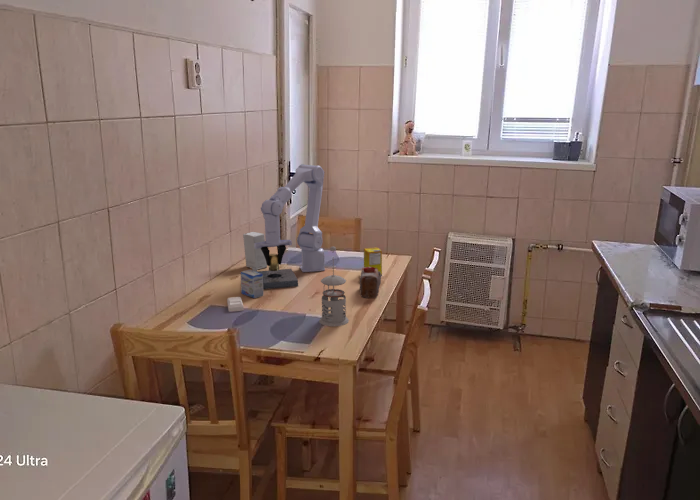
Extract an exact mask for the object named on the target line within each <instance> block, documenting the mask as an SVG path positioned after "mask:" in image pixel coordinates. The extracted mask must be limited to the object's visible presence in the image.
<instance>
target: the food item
mask: <svg viewBox="0 0 700 500" xmlns="http://www.w3.org/2000/svg"><path fill="white" fill-rule="evenodd" d="M381 283H382V276H381V273H380V271H379V272H378V269H376V268H374V267H364V266H363V267H362V268H361V271H360V277H359V293H360V294H359V295H360V296H361V298H364V299H367V298H368V299H371V298H372V299H376V298H378V296H379V290H380V287H381Z"/></svg>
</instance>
